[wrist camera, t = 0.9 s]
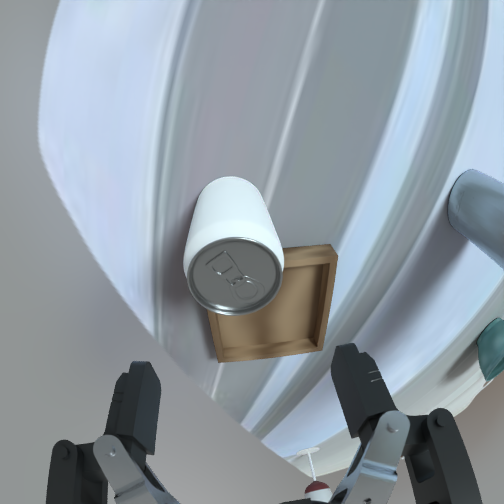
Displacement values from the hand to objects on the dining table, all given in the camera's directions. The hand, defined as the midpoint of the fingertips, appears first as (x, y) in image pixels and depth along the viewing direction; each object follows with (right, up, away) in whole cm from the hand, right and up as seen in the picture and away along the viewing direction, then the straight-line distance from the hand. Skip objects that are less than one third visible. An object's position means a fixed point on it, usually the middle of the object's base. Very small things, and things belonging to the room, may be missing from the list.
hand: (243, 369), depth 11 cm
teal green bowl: (+62, -15, +37) cm, 73 cm away
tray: (+2, -1, +22) cm, 22 cm away
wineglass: (+18, -57, +56) cm, 81 cm away
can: (-2, +9, +16) cm, 18 cm away
